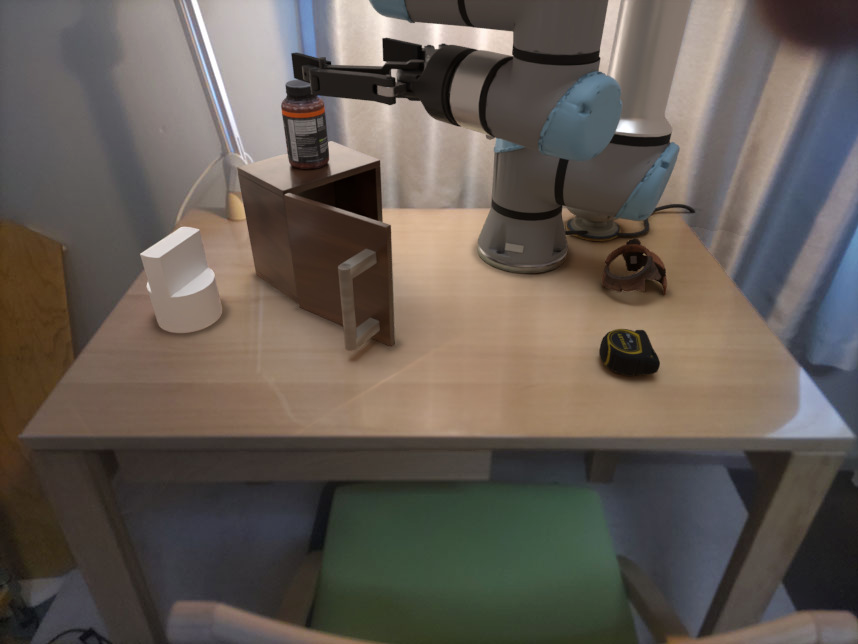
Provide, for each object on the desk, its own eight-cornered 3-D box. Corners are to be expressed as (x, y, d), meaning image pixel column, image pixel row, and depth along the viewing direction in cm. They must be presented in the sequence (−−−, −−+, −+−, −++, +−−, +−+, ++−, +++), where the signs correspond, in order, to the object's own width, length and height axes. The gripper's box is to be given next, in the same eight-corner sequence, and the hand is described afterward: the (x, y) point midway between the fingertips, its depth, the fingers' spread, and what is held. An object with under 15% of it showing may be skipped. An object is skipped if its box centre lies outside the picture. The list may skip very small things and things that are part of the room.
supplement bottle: (293, 155, 91) (283, 76, 84) (333, 156, 91) (326, 77, 84) (284, 170, 86) (273, 87, 79) (326, 171, 86) (318, 88, 79)
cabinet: (384, 265, 100) (380, 159, 90) (298, 304, 90) (282, 190, 80) (340, 241, 107) (331, 140, 97) (256, 274, 97) (236, 167, 87)
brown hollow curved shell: (676, 308, 91) (665, 272, 85) (613, 324, 95) (599, 291, 89) (662, 253, 99) (651, 217, 93) (604, 269, 102) (590, 236, 97)
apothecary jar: (580, 209, 118) (595, 117, 108) (637, 227, 112) (659, 131, 102) (547, 230, 111) (560, 132, 101) (606, 251, 105) (627, 149, 94)
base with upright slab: (197, 338, 83) (177, 262, 76) (143, 326, 85) (119, 251, 78) (234, 305, 90) (219, 232, 83) (184, 294, 92) (165, 222, 85)
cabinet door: (363, 369, 78) (354, 246, 67) (270, 325, 85) (249, 210, 75) (395, 343, 82) (391, 224, 72) (303, 304, 90) (288, 192, 80)
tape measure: (657, 382, 76) (664, 359, 74) (602, 380, 76) (607, 356, 74) (643, 349, 82) (649, 326, 80) (593, 347, 82) (597, 325, 80)
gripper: (378, 155, 56) (257, 108, 68) (542, 104, 70) (417, 73, 83) (375, 69, 52) (246, 35, 64) (549, 34, 66) (416, 12, 78)
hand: (342, 56), depth 73 cm, fingers open, 13 cm apart
